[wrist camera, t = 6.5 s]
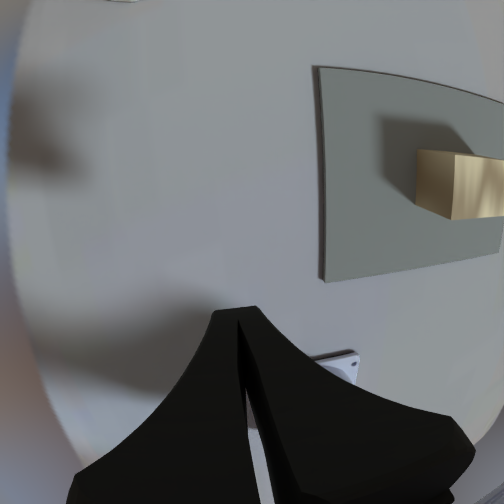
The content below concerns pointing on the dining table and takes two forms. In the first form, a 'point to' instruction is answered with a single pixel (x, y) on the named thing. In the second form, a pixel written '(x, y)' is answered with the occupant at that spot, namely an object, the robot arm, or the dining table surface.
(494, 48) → the dining table surface
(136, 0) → the white cup
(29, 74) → the dining table surface
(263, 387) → the robot arm
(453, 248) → the rubber mat
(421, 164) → the maple block
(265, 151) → the dining table surface
